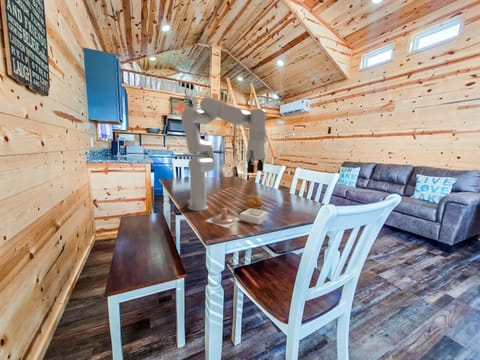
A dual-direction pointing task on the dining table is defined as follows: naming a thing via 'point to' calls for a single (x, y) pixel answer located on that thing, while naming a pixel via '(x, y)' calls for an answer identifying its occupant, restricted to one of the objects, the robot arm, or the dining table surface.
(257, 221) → the dish
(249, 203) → the cheeseburger
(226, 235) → the dining table surface
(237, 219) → the mat
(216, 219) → the lid
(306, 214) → the dining table surface
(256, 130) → the robot arm
